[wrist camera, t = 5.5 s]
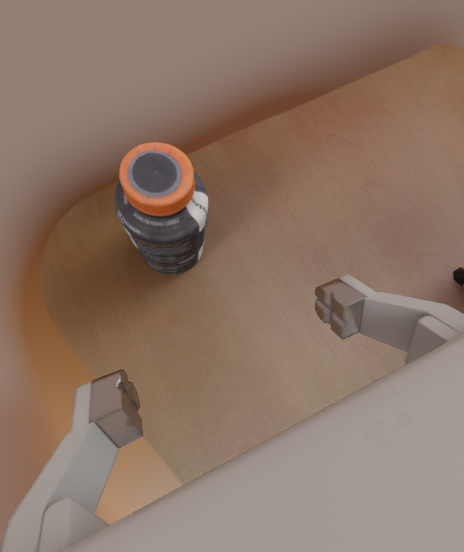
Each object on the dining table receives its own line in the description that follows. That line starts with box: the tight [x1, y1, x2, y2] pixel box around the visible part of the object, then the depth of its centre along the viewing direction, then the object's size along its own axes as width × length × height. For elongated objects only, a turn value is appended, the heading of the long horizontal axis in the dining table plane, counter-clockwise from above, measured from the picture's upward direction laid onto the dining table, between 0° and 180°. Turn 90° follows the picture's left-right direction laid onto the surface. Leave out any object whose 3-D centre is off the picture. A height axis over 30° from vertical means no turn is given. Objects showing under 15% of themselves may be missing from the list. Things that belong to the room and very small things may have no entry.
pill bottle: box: [114, 142, 208, 274], centre depth 20 cm, size 6×6×11 cm
